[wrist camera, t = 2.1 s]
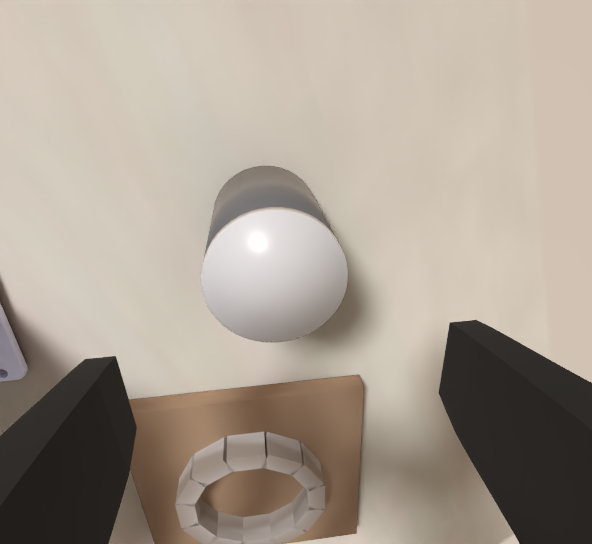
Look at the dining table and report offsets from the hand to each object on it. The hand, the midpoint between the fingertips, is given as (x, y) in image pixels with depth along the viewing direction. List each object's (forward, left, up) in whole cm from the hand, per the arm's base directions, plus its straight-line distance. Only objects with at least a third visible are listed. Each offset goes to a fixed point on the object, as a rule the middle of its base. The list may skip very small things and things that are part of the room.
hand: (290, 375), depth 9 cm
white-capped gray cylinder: (0, 0, -10) cm, 10 cm away
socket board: (-2, -16, -10) cm, 19 cm away
